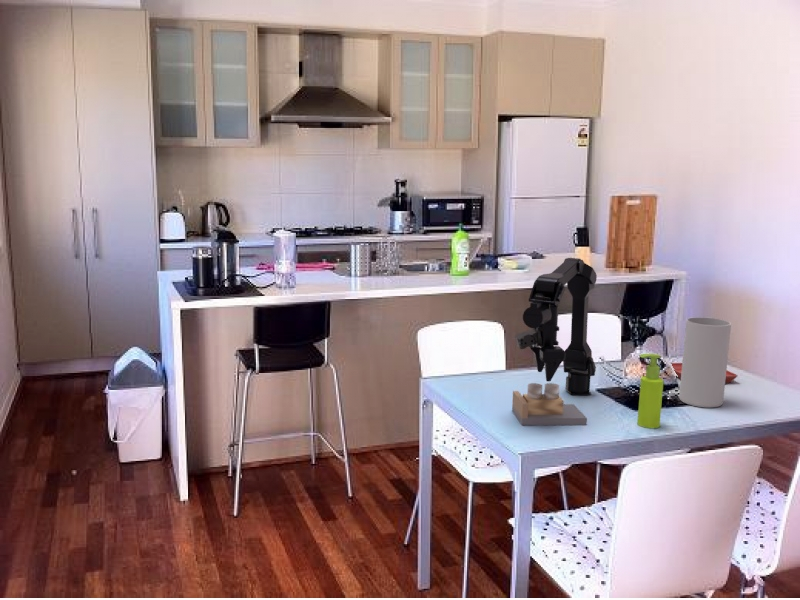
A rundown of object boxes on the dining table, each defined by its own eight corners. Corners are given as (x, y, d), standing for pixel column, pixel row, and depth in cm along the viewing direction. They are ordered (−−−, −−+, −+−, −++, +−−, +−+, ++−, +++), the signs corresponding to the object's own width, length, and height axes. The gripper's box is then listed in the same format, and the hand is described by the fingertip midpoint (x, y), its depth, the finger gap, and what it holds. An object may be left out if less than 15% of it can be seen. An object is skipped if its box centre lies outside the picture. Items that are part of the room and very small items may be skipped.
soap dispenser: (630, 421, 217) (636, 351, 213) (654, 421, 217) (660, 351, 214) (638, 428, 211) (644, 357, 207) (663, 428, 211) (669, 357, 208)
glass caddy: (556, 407, 221) (558, 382, 219) (562, 414, 215) (564, 388, 213) (522, 407, 220) (523, 382, 218) (527, 414, 214) (528, 388, 213)
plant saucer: (660, 371, 270) (661, 362, 270) (707, 370, 274) (708, 361, 273) (687, 386, 253) (688, 376, 252) (738, 385, 256) (739, 375, 255)
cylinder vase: (731, 404, 234) (740, 323, 229) (704, 410, 227) (713, 327, 223) (696, 393, 244) (704, 315, 240) (670, 399, 238) (677, 319, 233)
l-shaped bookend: (573, 410, 224) (574, 390, 223) (586, 424, 213) (587, 403, 212) (512, 411, 223) (513, 390, 222) (521, 425, 211) (522, 404, 210)
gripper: (510, 314, 222) (508, 367, 225) (526, 329, 204) (523, 386, 207) (548, 314, 223) (546, 367, 226) (567, 329, 205) (564, 386, 208)
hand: (544, 376), depth 216 cm, fingers open, 9 cm apart
